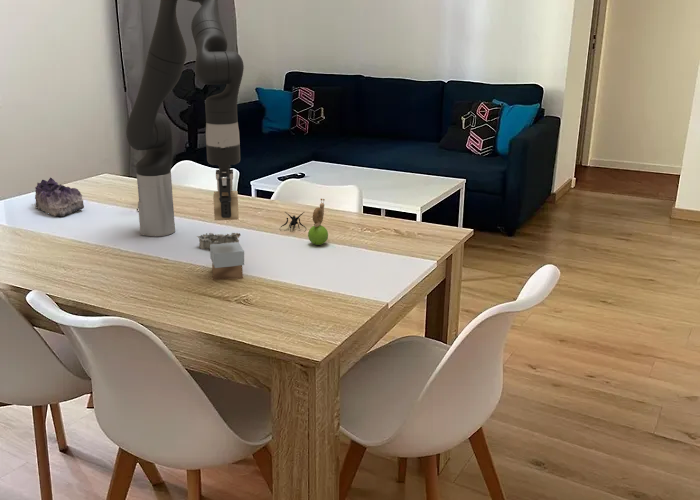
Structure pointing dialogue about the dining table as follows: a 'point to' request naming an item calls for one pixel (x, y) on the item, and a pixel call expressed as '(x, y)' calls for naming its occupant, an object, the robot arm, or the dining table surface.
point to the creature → (293, 222)
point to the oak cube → (233, 205)
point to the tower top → (226, 254)
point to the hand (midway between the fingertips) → (226, 213)
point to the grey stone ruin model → (217, 239)
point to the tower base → (227, 272)
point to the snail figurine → (318, 227)
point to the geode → (57, 198)
